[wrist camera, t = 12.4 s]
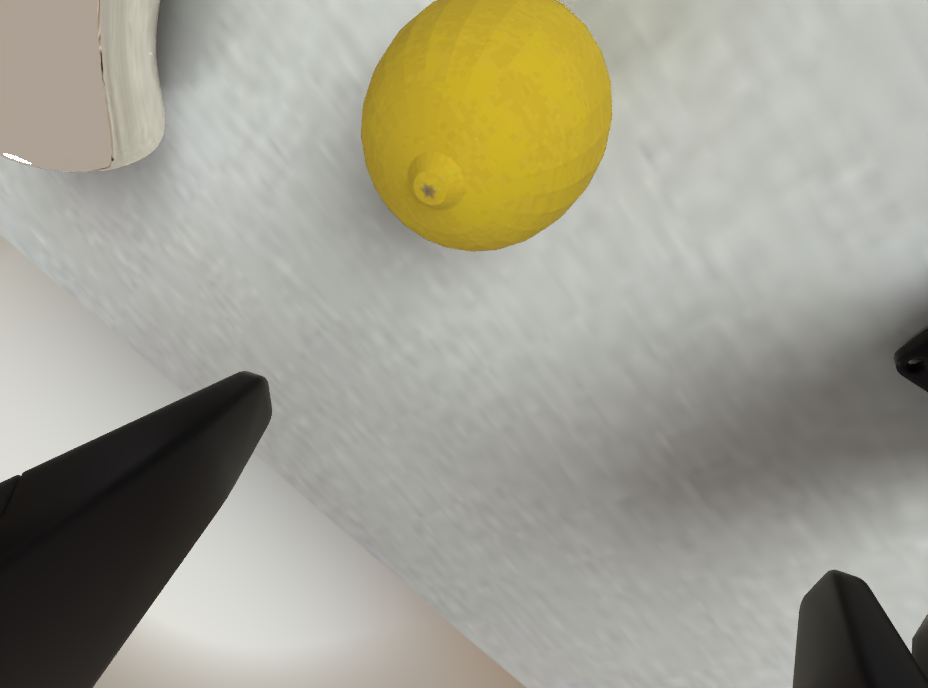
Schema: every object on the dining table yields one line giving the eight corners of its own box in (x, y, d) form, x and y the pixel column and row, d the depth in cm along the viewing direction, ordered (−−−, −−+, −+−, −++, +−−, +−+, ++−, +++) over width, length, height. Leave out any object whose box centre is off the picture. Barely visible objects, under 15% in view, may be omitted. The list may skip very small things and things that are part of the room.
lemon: (405, 41, 18) (247, 136, 12) (567, -92, 15) (455, -48, 9) (506, 197, 20) (411, 343, 14) (668, 109, 17) (630, 251, 11)
